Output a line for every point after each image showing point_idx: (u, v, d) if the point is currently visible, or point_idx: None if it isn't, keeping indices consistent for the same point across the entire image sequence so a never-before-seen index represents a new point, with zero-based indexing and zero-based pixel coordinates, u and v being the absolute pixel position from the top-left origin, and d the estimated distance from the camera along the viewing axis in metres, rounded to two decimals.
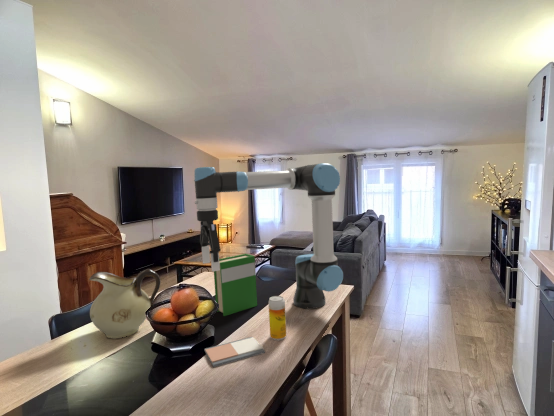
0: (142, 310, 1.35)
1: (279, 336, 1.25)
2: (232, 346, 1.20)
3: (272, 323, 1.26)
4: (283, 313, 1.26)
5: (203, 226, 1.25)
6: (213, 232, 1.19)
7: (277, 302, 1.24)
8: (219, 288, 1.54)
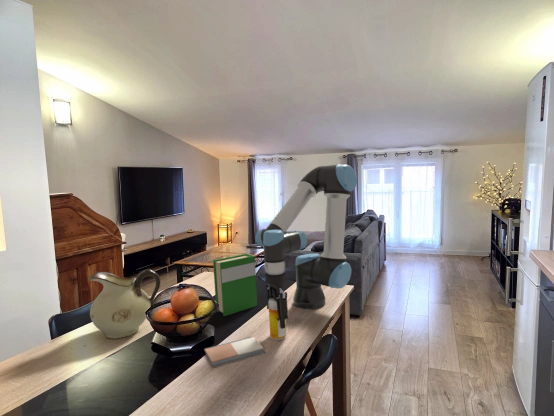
0: (142, 310, 1.35)
1: None
2: (232, 346, 1.20)
3: (272, 323, 1.26)
4: None
5: (271, 287, 1.27)
6: (283, 300, 1.21)
7: None
8: (219, 288, 1.54)
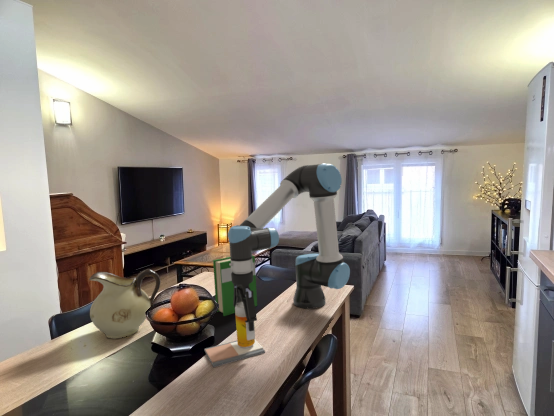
0: (142, 310, 1.35)
1: (246, 344, 1.18)
2: (232, 346, 1.20)
3: (238, 330, 1.18)
4: None
5: (237, 288, 1.19)
6: (250, 300, 1.13)
7: (243, 309, 1.16)
8: (219, 288, 1.54)
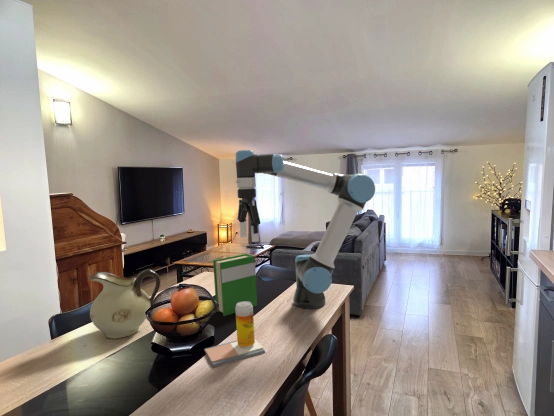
0: (142, 310, 1.35)
1: (247, 344, 1.18)
2: (232, 346, 1.20)
3: (238, 330, 1.18)
4: (250, 320, 1.18)
5: (243, 203, 1.41)
6: (253, 207, 1.35)
7: (244, 308, 1.17)
8: (219, 288, 1.54)
